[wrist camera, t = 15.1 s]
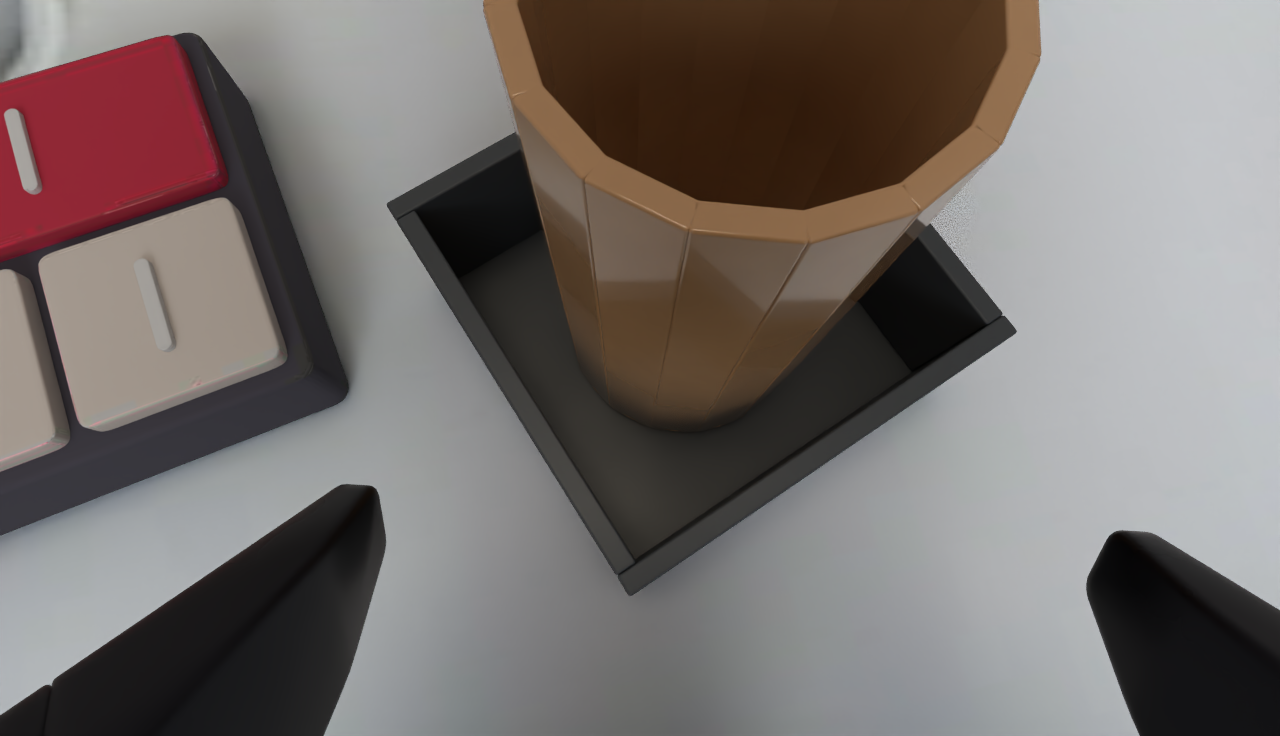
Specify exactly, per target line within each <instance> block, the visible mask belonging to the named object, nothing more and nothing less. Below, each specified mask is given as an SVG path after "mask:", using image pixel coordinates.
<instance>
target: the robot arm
mask: <svg viewBox="0 0 1280 736" xmlns="http://www.w3.org/2000/svg"><path fill="white" fill-rule="evenodd" d="M385 547H386V534H385V528H384V522H383V516H382V510H381V504H380V499H379V494H378V492H377V490H376V489H375V488H374V487H372V486H368V485H351V484H344V485H340V486H338V487H336V488H334V489H333V490H331V491H330V492H329V493H327V494H326V495H324V496H323V497H321V498H320V499H318V500H317V501H315V502H314V503H312V504H311V505H309V506H308V507H306V508H305V509H304V510H302V511H301V512H299V513H298V514H296V515H295V516H293V517H292V518H290V519H289V520H287V521H286V522H284V523H283V524H281V525H280V526H279V527H277V528H276V529H274V530H273V531H271V532H270V533H268V534H267V535H265V536H264V537H262V538H261V539H259V540H258V541H256V542H255V543H254V544H252V545H251V546H249V547H248V548H246V549H245V550H243V551H242V552H240V553H239V554H237V555H236V556H234V557H233V558H231V559H230V560H229V561H227V562H226V563H224V564H223V565H221V566H220V567H218V568H217V569H215V570H214V571H212V572H211V573H209V574H208V575H206V576H205V577H204V578H202V579H201V580H199V581H198V582H196V583H195V584H193V585H192V586H190V587H189V588H187V589H186V590H184V591H183V592H181V593H180V594H179V595H177V596H176V597H174V598H173V599H171V600H170V601H168V602H167V603H165V604H164V605H162V606H161V607H159V608H158V609H157V610H155V611H154V612H152V613H151V614H149V615H148V616H146V617H145V618H143V619H142V620H140V621H139V622H137V623H136V624H134V625H133V626H132V627H130V628H129V629H127V630H126V631H124V632H123V633H121V634H120V635H118V636H117V637H115V638H114V639H112V640H111V641H109V642H108V643H107V644H105V645H104V646H102V647H101V648H99V649H98V650H96V651H95V652H93V653H92V654H90V655H89V656H87V657H86V658H84V659H83V660H82V661H80V662H79V663H77V664H76V665H74V666H73V667H71V668H70V669H68V670H67V671H65V672H64V673H62V674H61V675H59V676H58V677H57V678H55V679H54V681H53V683H52V686H50V685H45V686H43V687H41V688H40V689H38V690H37V691H36V692H34V693H33V694H31V695H30V696H28V697H27V698H25V699H24V700H22V701H21V702H19V703H18V704H16V705H15V706H13V707H12V708H11V709H9V710H8V711H6V712H5V713H3V714H2V715H0V736H324V733H325V731H326V729H327V726H328V724H329V721H330V719H331V717H332V714H333V712H334V709H335V707H336V705H337V702H338V700H339V697H340V695H341V693H342V690H343V688H344V685H345V682H346V680H347V677H348V675H349V672H350V669H351V666H352V663H353V660H354V657H355V653H356V650H357V647H358V643H359V640H360V636H361V633H362V629H363V626H364V623H365V619H366V616H367V612H368V609H369V605H370V602H371V599H372V595H373V592H374V588H375V585H376V581H377V578H378V574H379V571H380V568H381V564H382V561H383V557H384V553H385ZM1086 590H1087V596H1088V600H1089V603H1090V605H1091V608H1092V611H1093V614H1094V616H1095V619H1096V622H1097V625H1098V627H1099V630H1100V633H1101V636H1102V639H1103V641H1104V644H1105V647H1106V650H1107V652H1108V655H1109V658H1110V661H1111V664H1112V666H1113V669H1114V672H1115V675H1116V677H1117V680H1118V683H1119V686H1120V688H1121V691H1122V694H1123V697H1124V699H1125V702H1126V704H1127V707H1128V709H1129V712H1130V714H1131V717H1132V719H1133V721H1134V724H1135V726H1136V728H1137V730H1138V733H1139V735H1140V736H1280V610H1278V609H1277V608H1275V607H1274V606H1272V605H1270V604H1269V603H1267V602H1265V601H1264V600H1262V599H1260V598H1259V597H1257V596H1255V595H1254V594H1252V593H1251V592H1249V591H1247V590H1246V589H1244V588H1242V587H1241V586H1239V585H1237V584H1236V583H1234V582H1233V581H1231V580H1229V579H1228V578H1226V577H1224V576H1223V575H1221V574H1219V573H1218V572H1216V571H1214V570H1213V569H1211V568H1210V567H1208V566H1206V565H1205V564H1203V563H1201V562H1200V561H1198V560H1196V559H1195V558H1193V557H1192V556H1190V555H1188V554H1187V553H1185V552H1183V551H1182V550H1180V549H1178V548H1177V547H1175V546H1174V545H1172V544H1170V543H1169V542H1167V541H1165V540H1164V539H1162V538H1160V537H1159V536H1157V535H1155V534H1152V533H1149V532H1140V531H1123V530H1121V531H1116V532H1114V533H1113V534H1111V535H1110V536H1109V537H1108V539H1107V540H1106V542H1105V544H1104V546H1103V548H1102V550H1101V552H1100V554H1099V556H1098V558H1097V560H1096V562H1095V563H1094V565H1093V567H1092V569H1091V571H1090V573H1089V575H1088V578H1087V583H1086Z"/></svg>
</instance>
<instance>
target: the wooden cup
mask: <svg viewBox="0 0 1280 736" xmlns="http://www.w3.org/2000/svg"><path fill="white" fill-rule="evenodd" d="M483 6H484V10H483V12H484V15H485V19H486V23H487V27H488V30H489V34H490V38H491V42H492V45H493V49H494V53H495V57H496V60H497V64H498V68H499V72H500V75H501V79H502V83H503V87H504V90H505V94H506V98H507V102H508V105H509V109H510V113H511V117H512V120H513V124H514V128H515V132H516V135H517V139H518V143H519V147H520V150H521V154H522V158H523V162H524V165H525V169H526V173H527V177H528V180H529V184H530V188H531V192H532V195H533V199H534V203H535V207H536V210H537V214H538V218H539V222H540V225H541V229H542V233H543V237H544V240H545V244H546V248H547V252H548V255H549V259H550V263H551V267H552V270H553V274H554V278H555V282H556V285H557V289H558V293H559V297H560V300H561V304H562V308H563V312H564V315H565V319H566V323H567V327H568V330H569V334H570V337H571V341H572V344H573V347H574V351H575V355H576V358H577V361H578V364H579V368H580V371H581V372H582V374H583V375H584V376H585V378H586V379H587V381H588V382H589V384H590V385H591V386H592V388H593V389H594V391H595V392H596V393H597V394H598V395H599V396H600V397H601V398H602V399H603V400H604V401H605V403H607V404H608V405H609V406H610V407H611V408H613V409H614V410H615V411H617V412H618V413H620V414H621V415H623V416H624V417H626V418H628V419H629V420H631V421H634V422H636V423H638V424H640V425H643V426H645V427H649V428H652V429H656V430H660V431H666V432H672V433H694V432H703V431H707V430H712V429H716V428H719V427H722V426H724V425H727V424H730V423H732V422H734V421H736V420H739V419H740V418H743V417H744V416H745V415H746V414H747V413H749V412H750V411H751V410H753V409H754V408H755V407H756V406H757V405H759V404H760V403H761V402H762V401H763V400H764V399H765V398H767V397H768V396H769V395H770V394H771V393H772V392H774V391H775V389H776V388H777V387H778V386H779V385H780V384H781V383H782V382H783V381H784V380H785V379H786V378H787V377H788V375H789V374H790V373H791V372H792V371H793V370H794V369H795V368H796V367H797V366H798V365H799V364H800V363H801V361H802V360H803V359H804V358H805V357H806V356H807V355H808V354H809V353H810V352H811V351H812V350H813V349H814V347H815V346H816V345H817V344H818V343H819V342H820V341H821V340H822V339H823V338H824V337H825V336H826V335H827V333H828V332H829V331H830V330H831V329H832V328H833V327H834V326H835V325H836V324H837V323H838V322H839V321H840V319H841V318H842V317H843V316H844V315H845V314H846V313H847V312H848V311H849V310H850V309H851V308H852V307H853V305H854V304H855V303H856V302H857V301H858V300H859V299H860V298H861V297H862V296H863V295H864V294H865V293H866V291H867V290H868V289H869V288H870V287H871V286H872V285H873V284H874V283H875V282H876V281H877V280H878V279H879V277H880V276H881V275H882V274H883V273H884V272H885V271H886V270H887V269H888V268H889V267H890V266H891V265H892V263H893V262H894V261H895V260H896V259H897V258H898V257H899V256H900V255H901V254H902V253H903V252H904V251H905V249H906V248H907V247H908V246H909V245H910V244H911V243H912V242H913V241H914V240H915V239H916V238H917V237H918V235H919V234H920V233H921V232H922V231H923V230H924V229H925V228H926V227H927V226H928V225H929V224H930V223H931V221H932V220H933V219H934V218H935V217H936V216H937V215H938V214H939V213H940V212H941V211H942V210H943V209H944V207H945V206H946V205H947V204H948V203H949V202H950V201H951V200H952V199H953V198H954V197H955V196H956V195H957V193H958V192H959V191H960V190H961V189H962V188H963V187H964V186H965V185H966V184H967V183H968V182H969V181H970V179H971V178H972V177H973V176H974V175H975V174H976V173H977V172H978V171H979V170H980V169H981V168H982V167H983V165H984V164H985V163H986V162H987V161H988V160H989V159H990V158H991V157H992V156H993V155H994V154H995V153H996V151H997V150H998V149H999V147H1000V146H1001V145H1002V144H1003V142H1004V140H1005V138H1006V136H1007V133H1008V131H1009V129H1010V127H1011V125H1012V122H1013V120H1014V118H1015V116H1016V113H1017V111H1018V109H1019V107H1020V105H1021V102H1022V100H1023V98H1024V96H1025V94H1026V91H1027V89H1028V87H1029V85H1030V82H1031V80H1032V78H1033V76H1034V74H1035V71H1036V69H1037V67H1038V65H1039V63H1040V56H1041V39H1040V19H1039V0H484V1H483Z"/></svg>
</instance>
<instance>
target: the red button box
mask: <svg viewBox="0 0 1280 736" xmlns="http://www.w3.org/2000/svg"><path fill="white" fill-rule="evenodd" d="M347 392H348V383H347V380H346V377H345V374H344V371H343V368H342V365H341V363H340V360H339V357H338V354H337V351H336V348H335V346H334V343H333V340H332V337H331V334H330V332H329V329H328V326H327V323H326V320H325V317H324V315H323V312H322V309H321V306H320V303H319V300H318V298H317V295H316V292H315V289H314V286H313V284H312V281H311V278H310V275H309V272H308V269H307V267H306V264H305V261H304V258H303V255H302V253H301V250H300V247H299V244H298V241H297V238H296V236H295V233H294V230H293V227H292V224H291V221H290V219H289V216H288V213H287V210H286V207H285V205H284V202H283V199H282V196H281V193H280V190H279V188H278V185H277V182H276V179H275V176H274V173H273V171H272V168H271V165H270V162H269V159H268V157H267V154H266V151H265V148H264V145H263V142H262V140H261V137H260V134H259V131H258V128H257V126H256V123H255V120H254V117H253V114H252V111H251V109H250V106H249V103H248V101H247V99H246V98H245V96H244V95H243V93H242V92H241V90H240V89H239V88H238V86H237V85H236V83H235V82H234V81H233V79H232V78H231V77H230V75H229V74H228V73H227V71H226V70H225V69H224V67H223V66H222V64H221V63H220V62H219V60H218V59H217V58H216V56H215V55H214V54H213V52H212V51H211V50H210V48H209V47H208V46H207V44H206V43H205V42H204V41H203V39H202V38H201V37H200V36H198V35H196V34H194V33H182V34H178V35H174V36H169V35H165V36H160V37H155V38H152V39H148V40H145V41H141V42H138V43H135V44H131V45H128V46H124V47H121V48H117V49H114V50H111V51H107V52H104V53H100V54H97V55H93V56H90V57H87V58H83V59H80V60H76V61H73V62H69V63H66V64H63V65H59V66H56V67H52V68H49V69H45V70H42V71H39V72H35V73H32V74H28V75H25V76H21V77H18V78H15V79H11V80H8V81H4V82H1V83H0V535H3V534H5V533H8V532H10V531H13V530H16V529H18V528H21V527H23V526H26V525H28V524H31V523H33V522H36V521H39V520H41V519H44V518H46V517H49V516H51V515H54V514H57V513H59V512H62V511H64V510H67V509H69V508H72V507H75V506H77V505H80V504H82V503H85V502H87V501H90V500H92V499H95V498H98V497H100V496H103V495H105V494H108V493H110V492H113V491H116V490H118V489H121V488H123V487H126V486H128V485H131V484H134V483H136V482H139V481H141V480H144V479H146V478H149V477H151V476H154V475H157V474H159V473H162V472H164V471H167V470H169V469H172V468H175V467H177V466H180V465H182V464H185V463H187V462H190V461H193V460H195V459H198V458H200V457H203V456H205V455H208V454H210V453H213V452H216V451H218V450H221V449H223V448H226V447H228V446H231V445H234V444H236V443H239V442H241V441H244V440H246V439H249V438H251V437H254V436H257V435H259V434H262V433H264V432H267V431H269V430H272V429H275V428H277V427H280V426H282V425H285V424H287V423H290V422H293V421H295V420H298V419H300V418H303V417H305V416H308V415H310V414H313V413H316V412H318V411H321V410H323V409H326V408H328V407H331V406H333V405H336V404H338V403H339V402H341V401H342V400H343V399H344V398H345V397H346V395H347Z"/></svg>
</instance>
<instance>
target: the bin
mask: <svg viewBox="0 0 1280 736" xmlns="http://www.w3.org/2000/svg"><path fill="white" fill-rule="evenodd" d="M387 207H388V209H389V210H390V212H391V213H392V215H393V217H394V218H395V220H396V221H397V223H398V225H399V226H400V228H401V230H402V231H403V233H404V234H405V236H406V238H407V239H408V241H409V242H410V244H411V246H412V247H413V249H414V250H415V252H416V254H417V255H418V257H419V259H420V260H421V262H422V263H423V265H424V267H425V268H426V270H427V271H428V273H429V275H430V276H431V278H432V279H433V281H434V283H435V284H436V286H437V288H438V289H439V291H440V292H441V294H442V296H443V297H444V299H445V300H446V302H447V304H448V305H449V307H450V308H451V310H452V312H453V313H454V315H455V317H456V318H457V320H458V321H459V323H460V325H461V326H462V328H463V329H464V331H465V333H466V334H467V336H468V337H469V339H470V341H471V342H472V344H473V346H474V347H475V349H476V350H477V352H478V354H479V355H480V357H481V358H482V360H483V362H484V363H485V365H486V366H487V368H488V370H489V371H490V373H491V375H492V376H493V378H494V379H495V381H496V383H497V384H498V386H499V387H500V389H501V391H502V392H503V394H504V395H505V397H506V399H507V400H508V402H509V404H510V405H511V407H512V408H513V410H514V412H515V413H516V415H517V416H518V418H519V420H520V421H521V423H522V424H523V426H524V428H525V429H526V431H527V433H528V434H529V436H530V437H531V439H532V441H533V442H534V444H535V445H536V447H537V449H538V450H539V452H540V453H541V455H542V457H543V458H544V460H545V462H546V463H547V465H548V466H549V468H550V470H551V471H552V473H553V474H554V476H555V478H556V479H557V481H558V482H559V484H560V486H561V487H562V489H563V491H564V492H565V494H566V495H567V497H568V499H569V500H570V502H571V503H572V505H573V507H574V508H575V510H576V511H577V513H578V515H579V516H580V518H581V520H582V521H583V523H584V524H585V526H586V528H587V529H588V531H589V532H590V534H591V536H592V537H593V539H594V540H595V542H596V544H597V545H598V547H599V549H600V550H601V552H602V553H603V555H604V557H605V558H606V560H607V561H608V563H609V565H610V566H611V568H612V569H613V571H614V573H615V574H616V575H618V579H619V581H620V582H621V584H622V586H623V587H624V589H625V590H626V592H627V594H628V595H629V596H632V595H634V594H635V593H637V592H638V591H640V590H641V589H643V588H644V587H646V586H647V585H648V584H650V583H651V582H653V581H654V580H656V579H657V578H659V577H660V576H662V575H663V574H665V573H666V572H667V571H669V570H670V569H672V568H673V567H675V566H676V565H678V564H679V563H681V562H682V561H684V560H685V559H686V558H688V557H689V556H691V555H692V554H694V553H695V552H697V551H698V550H700V549H701V548H703V547H704V546H705V545H707V544H708V543H710V542H711V541H713V540H714V539H716V538H717V537H719V536H720V535H722V534H723V533H725V532H726V531H727V530H729V529H730V528H732V527H733V526H735V525H736V524H738V523H739V522H741V521H742V520H744V519H745V518H746V517H748V516H749V515H751V514H752V513H754V512H755V511H757V510H758V509H760V508H761V507H763V506H764V505H765V504H767V503H768V502H770V501H771V500H773V499H774V498H776V497H777V496H779V495H780V494H782V493H783V492H784V491H786V490H787V489H789V488H790V487H792V486H793V485H795V484H796V483H798V482H799V481H801V480H802V479H804V478H805V477H806V476H808V475H809V474H811V473H812V472H814V471H815V470H817V469H818V468H820V467H821V466H823V465H824V464H825V463H827V462H828V461H830V460H831V459H833V458H834V457H836V456H837V455H839V454H840V453H842V452H843V451H844V450H846V449H847V448H849V447H850V446H852V445H853V444H855V443H856V442H858V441H859V440H861V439H862V438H863V437H865V436H866V435H868V434H869V433H871V432H872V431H874V430H875V429H877V428H878V427H880V426H881V425H883V424H884V423H885V422H887V421H888V420H890V419H891V418H893V417H894V416H896V415H897V414H899V413H900V412H902V411H903V410H904V409H906V408H907V407H909V406H910V405H912V404H913V403H915V402H916V401H918V400H919V399H921V398H922V397H923V396H925V395H926V394H928V393H929V392H931V391H932V390H934V389H935V388H937V387H938V386H940V385H941V384H942V383H944V382H945V381H947V380H948V379H950V378H951V377H953V376H954V375H956V374H957V373H959V372H960V371H962V370H963V369H964V368H966V367H967V366H969V365H970V364H972V363H973V362H975V361H976V360H978V359H979V358H981V357H982V356H983V355H985V354H986V353H988V352H989V351H991V350H992V349H994V348H995V347H997V346H998V345H1000V344H1001V343H1002V342H1004V341H1005V340H1007V339H1008V338H1010V337H1011V336H1013V335H1014V334H1016V332H1017V331H1016V329H1015V328H1014V327H1013V325H1012V324H1011V323H1010V322H1009V320H1008V319H1007V318H1006V317H1005V316H1002V312H1001V310H1000V309H999V308H998V307H997V306H996V304H995V303H994V302H993V301H992V299H991V298H990V297H989V296H988V294H987V293H986V292H985V291H984V289H983V288H982V287H981V286H980V284H979V283H978V282H977V281H976V279H975V278H974V277H973V276H972V275H971V273H970V272H969V271H968V270H967V268H966V267H965V266H964V265H963V263H962V262H961V261H960V260H959V258H958V257H957V256H956V255H955V253H954V252H953V251H952V250H951V248H950V247H949V246H948V245H947V244H946V242H945V241H944V240H943V239H942V237H941V236H940V235H939V234H938V232H937V231H936V230H935V229H934V227H933V226H932V225H931V224H929V225H928V226H927V227H926V228H925V229H924V230H923V231H922V232H921V233H920V234H919V235H918V237H917V238H916V239H915V240H914V241H913V242H912V243H911V244H910V245H909V246H908V247H907V248H906V249H905V251H904V252H903V253H902V254H901V255H900V256H899V257H898V258H897V259H896V260H895V261H894V262H893V263H892V265H891V266H890V267H889V268H888V269H887V270H886V271H885V272H884V273H883V274H882V275H881V276H880V277H879V279H878V280H877V281H876V282H875V283H874V284H873V285H872V286H871V287H870V288H869V289H868V290H867V291H866V293H865V294H864V295H863V296H862V297H861V298H860V299H859V300H858V301H857V302H856V303H855V304H854V305H853V307H852V308H851V309H850V310H849V311H848V312H847V313H846V314H845V315H844V316H843V317H842V318H841V319H840V321H839V322H838V323H837V324H836V325H835V326H834V327H833V328H832V329H831V330H830V331H829V332H828V333H827V335H826V336H825V337H824V338H823V339H822V340H821V341H820V342H819V343H818V344H817V345H816V346H815V347H814V349H813V350H812V351H811V352H810V353H809V354H808V355H807V356H806V357H805V358H804V359H803V360H802V361H801V363H800V364H799V365H798V366H797V367H796V368H795V369H794V370H793V371H792V372H791V373H790V374H789V375H788V377H787V378H786V379H785V380H784V381H783V382H782V383H781V384H780V385H779V386H778V387H777V388H776V389H775V391H774V392H772V393H771V394H770V395H769V396H768V397H767V398H765V399H764V400H763V401H762V402H761V403H760V404H759V405H757V406H756V407H755V408H754V409H753V410H751V411H750V412H749V413H747V414H746V415H745V416H744V417H743V418H740V419H739V420H736V421H734V422H732V423H730V424H727V425H724V426H722V427H719V428H716V429H712V430H707V431H703V432H694V433H672V432H666V431H660V430H656V429H652V428H649V427H645V426H643V425H640V424H638V423H636V422H634V421H631V420H629V419H628V418H626V417H624V416H623V415H621V414H620V413H618V412H617V411H615V410H614V409H613V408H611V407H610V406H609V405H608V404H607V403H605V401H604V400H603V399H602V398H601V397H600V396H599V395H598V394H597V393H596V392H595V391H594V389H593V388H592V386H591V385H590V384H589V382H588V381H587V379H586V378H585V376H584V375H583V374H582V372H581V371H580V368H579V364H578V361H577V358H576V355H575V351H574V347H573V344H572V341H571V337H570V334H569V330H568V327H567V323H566V319H565V315H564V312H563V308H562V304H561V300H560V297H559V293H558V289H557V285H556V282H555V278H554V274H553V270H552V267H551V263H550V259H549V255H548V252H547V248H546V244H545V240H544V237H543V233H542V229H541V225H540V222H539V218H538V214H537V210H536V207H535V203H534V199H533V195H532V192H531V188H530V184H529V180H528V177H527V173H526V169H525V165H524V162H523V158H522V154H521V150H520V147H519V143H518V139H517V135H516V132H515V133H513V134H511V135H509V136H507V137H506V138H504V139H502V140H500V141H498V142H497V143H495V144H493V145H491V146H489V147H488V148H486V149H484V150H482V151H480V152H479V153H477V154H475V155H473V156H471V157H470V158H468V159H466V160H464V161H462V162H461V163H459V164H457V165H455V166H453V167H452V168H450V169H448V170H446V171H444V172H442V173H441V174H439V175H437V176H435V177H433V178H432V179H430V180H428V181H426V182H424V183H423V184H421V185H419V186H417V187H415V188H414V189H412V190H410V191H408V192H406V193H405V194H403V195H401V196H399V197H397V198H396V199H394V200H392V201H390V202H388V203H387Z"/></svg>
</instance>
